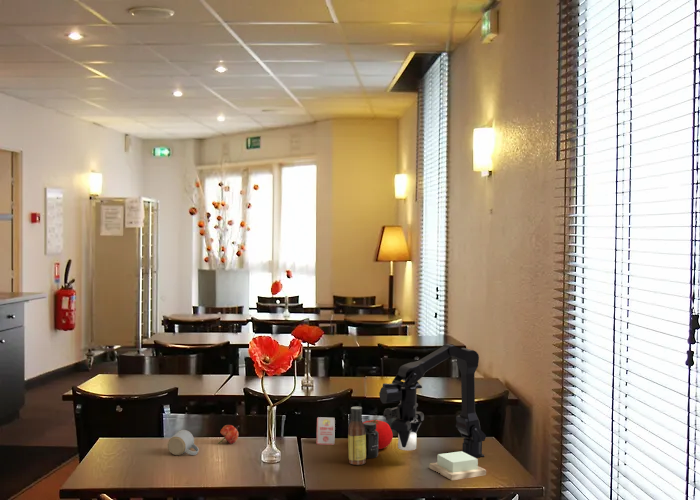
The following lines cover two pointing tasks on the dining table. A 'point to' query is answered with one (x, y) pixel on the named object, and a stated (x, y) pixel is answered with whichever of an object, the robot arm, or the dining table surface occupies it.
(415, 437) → the white cylinder
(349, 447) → the sauce bottle
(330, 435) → the white red carton
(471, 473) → the birch base slab
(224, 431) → the red mushroom
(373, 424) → the supplement bottle
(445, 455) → the sage top block
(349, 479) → the dining table surface
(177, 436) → the ceramic mug
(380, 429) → the tomato
